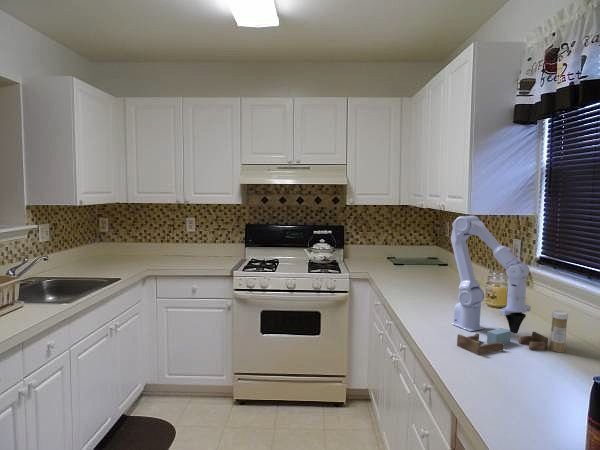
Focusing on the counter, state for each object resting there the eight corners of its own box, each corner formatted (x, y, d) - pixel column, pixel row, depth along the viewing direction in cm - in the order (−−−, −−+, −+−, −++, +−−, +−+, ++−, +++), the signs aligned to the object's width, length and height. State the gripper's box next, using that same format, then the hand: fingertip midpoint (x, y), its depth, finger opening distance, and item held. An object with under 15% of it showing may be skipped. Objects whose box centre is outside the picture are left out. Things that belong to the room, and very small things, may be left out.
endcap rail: (454, 344, 146) (454, 333, 145) (476, 339, 151) (477, 328, 151) (480, 356, 136) (481, 344, 136) (503, 350, 141) (504, 339, 141)
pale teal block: (486, 343, 148) (487, 331, 148) (501, 340, 152) (502, 328, 151) (495, 347, 145) (496, 334, 145) (509, 343, 149) (510, 331, 148)
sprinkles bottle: (551, 346, 146) (554, 309, 145) (566, 350, 143) (569, 312, 142) (547, 350, 143) (551, 311, 141) (563, 353, 140) (566, 314, 138)
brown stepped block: (530, 350, 142) (531, 338, 142) (518, 343, 149) (519, 332, 148) (547, 349, 143) (547, 338, 143) (534, 342, 150) (534, 331, 149)
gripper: (513, 300, 144) (510, 338, 145) (539, 296, 150) (536, 333, 152) (495, 295, 150) (493, 332, 151) (521, 291, 157) (518, 327, 158)
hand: (513, 332), depth 152 cm, fingers closed
